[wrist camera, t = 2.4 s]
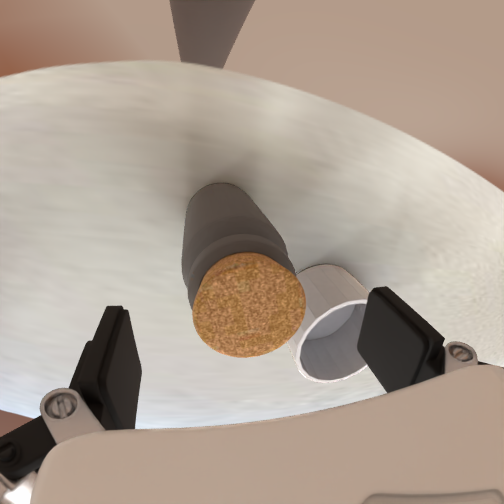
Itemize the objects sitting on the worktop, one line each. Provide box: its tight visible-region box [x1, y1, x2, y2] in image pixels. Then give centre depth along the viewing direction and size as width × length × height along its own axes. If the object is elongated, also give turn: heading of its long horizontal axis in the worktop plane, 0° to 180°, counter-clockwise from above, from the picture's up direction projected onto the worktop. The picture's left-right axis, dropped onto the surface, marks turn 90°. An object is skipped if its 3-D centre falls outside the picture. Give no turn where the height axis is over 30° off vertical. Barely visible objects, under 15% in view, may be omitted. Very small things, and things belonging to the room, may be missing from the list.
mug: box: [286, 264, 370, 383], centre depth 28 cm, size 13×9×7 cm
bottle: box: [182, 183, 306, 358], centre depth 19 cm, size 6×6×15 cm
